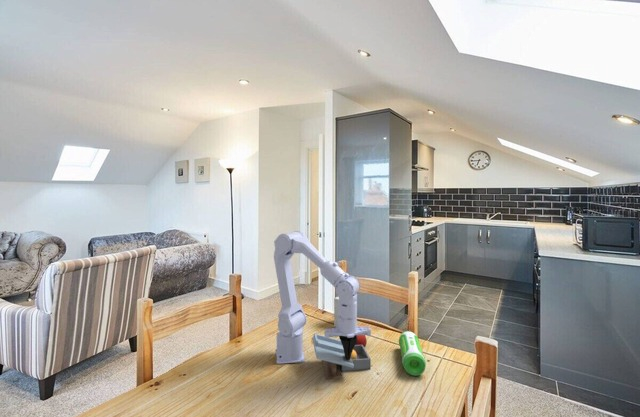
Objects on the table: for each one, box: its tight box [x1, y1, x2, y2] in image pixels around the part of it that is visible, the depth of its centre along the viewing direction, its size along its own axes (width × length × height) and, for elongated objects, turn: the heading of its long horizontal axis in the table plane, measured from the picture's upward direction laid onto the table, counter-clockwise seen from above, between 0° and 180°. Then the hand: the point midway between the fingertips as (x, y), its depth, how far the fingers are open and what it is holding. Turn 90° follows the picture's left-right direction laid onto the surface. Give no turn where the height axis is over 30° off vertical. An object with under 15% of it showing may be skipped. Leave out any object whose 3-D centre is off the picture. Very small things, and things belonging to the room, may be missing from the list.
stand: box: [321, 360, 344, 380], centre depth 98 cm, size 5×10×5 cm, turn 8°
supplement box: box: [333, 296, 339, 328], centre depth 130 cm, size 7×7×13 cm
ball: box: [351, 350, 357, 359], centre depth 101 cm, size 4×4×4 cm
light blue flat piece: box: [311, 333, 354, 368], centre depth 97 cm, size 12×13×2 cm
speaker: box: [398, 330, 427, 377], centre depth 102 cm, size 18×7×8 cm, turn 170°
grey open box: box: [339, 345, 372, 373], centre depth 102 cm, size 10×10×4 cm
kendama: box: [355, 335, 368, 349], centre depth 117 cm, size 8×6×18 cm
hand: (347, 358), depth 95 cm, fingers closed
